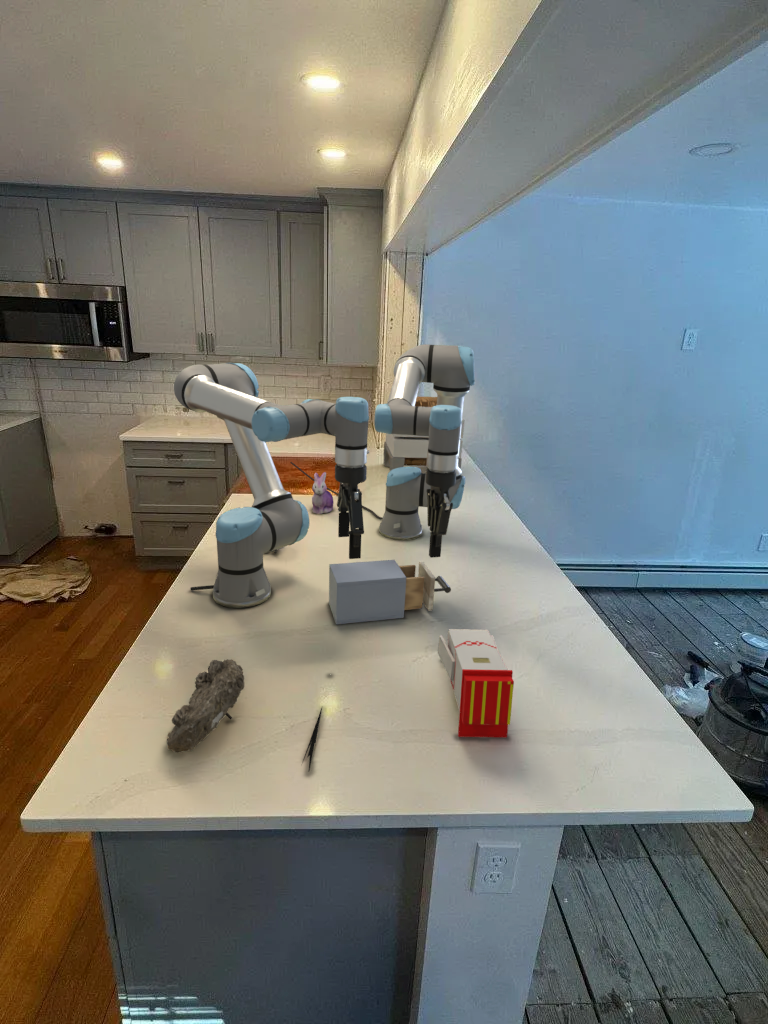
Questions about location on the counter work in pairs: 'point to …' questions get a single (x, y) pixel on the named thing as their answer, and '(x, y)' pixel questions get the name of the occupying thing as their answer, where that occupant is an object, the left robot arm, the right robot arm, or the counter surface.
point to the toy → (478, 682)
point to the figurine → (321, 495)
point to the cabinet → (366, 591)
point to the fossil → (206, 705)
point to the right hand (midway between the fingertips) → (434, 556)
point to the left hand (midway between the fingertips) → (348, 546)
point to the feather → (313, 740)
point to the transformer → (411, 444)
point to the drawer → (421, 586)
